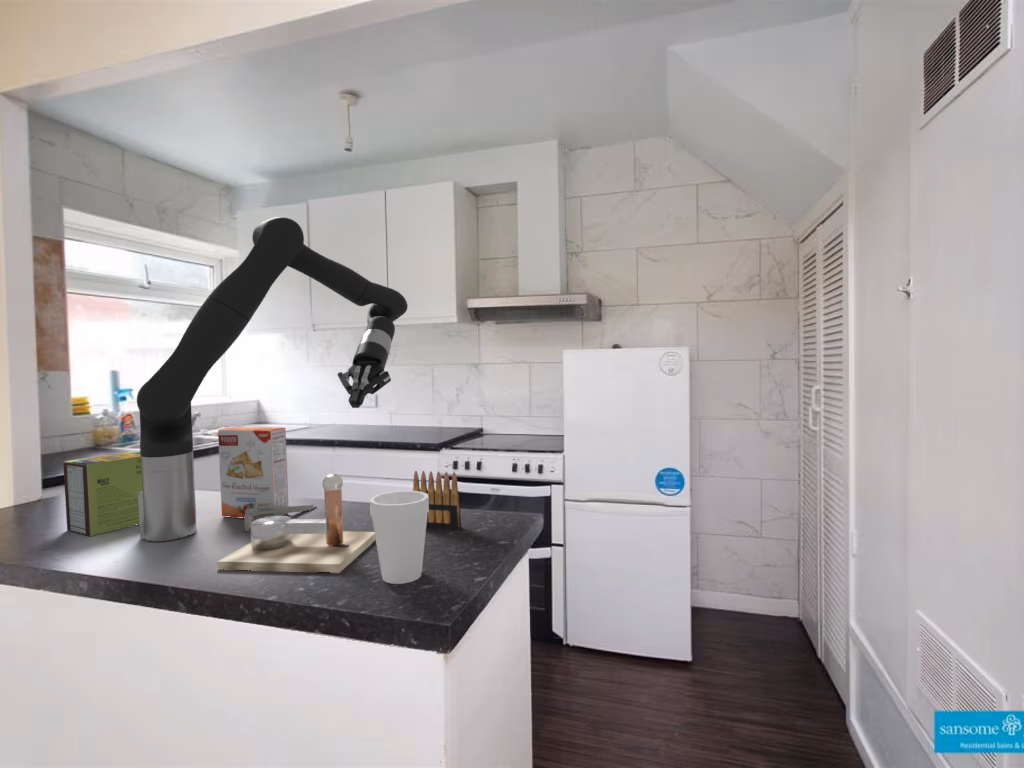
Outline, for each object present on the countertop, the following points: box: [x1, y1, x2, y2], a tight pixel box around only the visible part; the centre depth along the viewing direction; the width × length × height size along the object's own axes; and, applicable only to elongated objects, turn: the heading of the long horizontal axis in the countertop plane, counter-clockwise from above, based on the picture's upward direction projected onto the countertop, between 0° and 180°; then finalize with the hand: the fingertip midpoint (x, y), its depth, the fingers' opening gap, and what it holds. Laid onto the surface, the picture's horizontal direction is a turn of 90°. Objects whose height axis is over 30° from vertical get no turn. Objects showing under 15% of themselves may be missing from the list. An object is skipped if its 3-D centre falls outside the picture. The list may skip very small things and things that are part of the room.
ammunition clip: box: [412, 470, 462, 531], centre depth 113 cm, size 11×2×12 cm, turn 74°
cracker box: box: [217, 426, 289, 518], centre depth 124 cm, size 14×6×21 cm, turn 77°
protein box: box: [62, 450, 142, 537], centre depth 120 cm, size 10×15×16 cm
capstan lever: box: [250, 473, 344, 549], centre depth 98 cm, size 17×7×13 cm, turn 87°
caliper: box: [244, 502, 317, 532], centre depth 121 cm, size 20×1×6 cm, turn 159°
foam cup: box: [369, 490, 429, 585], centre depth 87 cm, size 10×9×13 cm
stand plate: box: [216, 530, 376, 574], centre depth 98 cm, size 22×17×2 cm
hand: (354, 405), depth 118 cm, fingers closed
